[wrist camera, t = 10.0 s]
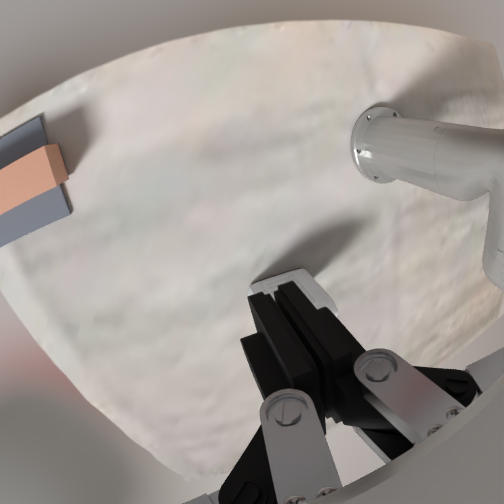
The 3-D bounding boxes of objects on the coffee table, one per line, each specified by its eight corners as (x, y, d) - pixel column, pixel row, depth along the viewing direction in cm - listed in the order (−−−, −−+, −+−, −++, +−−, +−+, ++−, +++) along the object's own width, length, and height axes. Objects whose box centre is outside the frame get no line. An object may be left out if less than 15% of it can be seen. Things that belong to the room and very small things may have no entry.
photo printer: (249, 306, 48) (275, 356, 38) (244, 284, 47) (270, 332, 36) (308, 286, 50) (345, 328, 39) (305, 263, 48) (345, 304, 37)
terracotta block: (44, 145, 26) (-36, 193, 24) (56, 186, 28) (-24, 228, 26) (57, 142, 30) (-19, 185, 28) (69, 178, 33) (-7, 217, 31)
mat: (40, 116, 29) (39, 116, 28) (71, 213, 35) (70, 214, 34) (-36, 164, 26) (-38, 164, 26) (-5, 249, 33) (-7, 250, 32)
